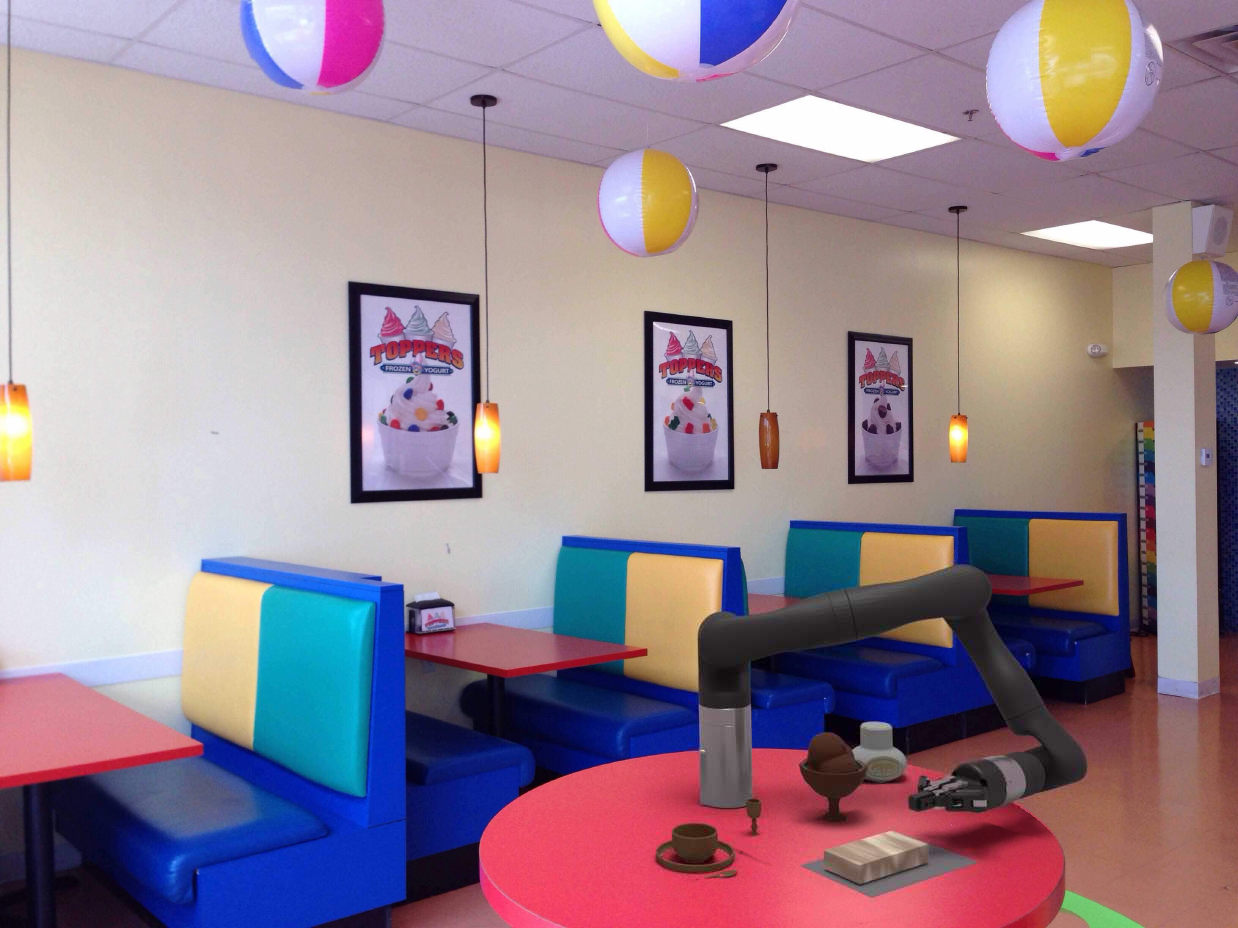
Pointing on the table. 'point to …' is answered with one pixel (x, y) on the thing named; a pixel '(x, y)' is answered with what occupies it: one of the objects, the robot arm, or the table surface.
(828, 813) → the ice cream bowl
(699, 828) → the place setting
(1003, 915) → the table surface
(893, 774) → the air freshener
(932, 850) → the mat
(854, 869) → the tile
